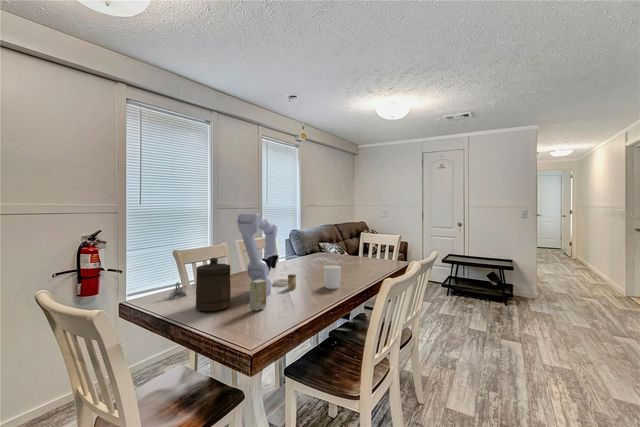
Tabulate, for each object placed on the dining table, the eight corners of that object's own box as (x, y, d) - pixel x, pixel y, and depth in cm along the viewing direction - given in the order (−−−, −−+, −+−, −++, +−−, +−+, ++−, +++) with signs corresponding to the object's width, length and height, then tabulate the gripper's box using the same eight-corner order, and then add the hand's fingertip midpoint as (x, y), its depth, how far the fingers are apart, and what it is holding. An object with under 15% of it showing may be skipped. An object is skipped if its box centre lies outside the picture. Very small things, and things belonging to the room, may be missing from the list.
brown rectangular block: (296, 288, 165) (296, 274, 164) (293, 290, 161) (293, 275, 161) (289, 288, 165) (290, 274, 165) (287, 290, 162) (287, 275, 162)
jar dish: (291, 283, 176) (291, 279, 176) (286, 287, 168) (286, 283, 168) (277, 282, 179) (277, 278, 179) (271, 286, 170) (271, 282, 170)
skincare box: (256, 311, 127) (256, 282, 127) (249, 309, 130) (249, 281, 130) (266, 307, 133) (266, 280, 133) (259, 305, 135) (259, 278, 135)
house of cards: (179, 293, 156) (179, 278, 156) (189, 295, 152) (189, 280, 152) (162, 297, 149) (162, 282, 149) (173, 300, 144) (173, 284, 144)
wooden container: (236, 302, 140) (236, 256, 140) (219, 312, 126) (219, 261, 125) (208, 300, 143) (208, 255, 143) (188, 310, 129) (188, 259, 128)
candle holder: (320, 288, 164) (321, 267, 164) (327, 285, 173) (327, 264, 173) (337, 290, 161) (337, 268, 161) (343, 286, 170) (343, 265, 170)
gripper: (268, 243, 174) (269, 266, 174) (258, 247, 160) (258, 272, 160) (280, 244, 172) (280, 267, 173) (270, 247, 158) (271, 272, 159)
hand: (270, 269), depth 166 cm, fingers open, 7 cm apart
